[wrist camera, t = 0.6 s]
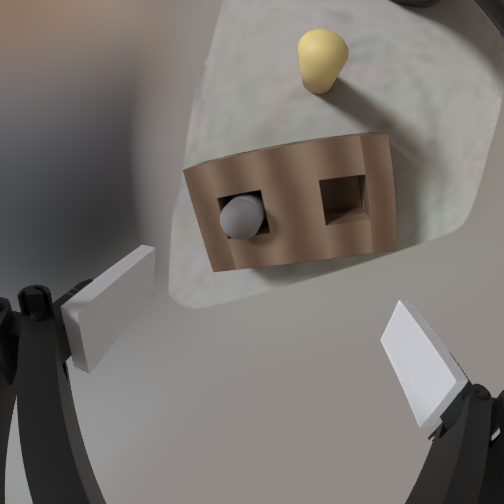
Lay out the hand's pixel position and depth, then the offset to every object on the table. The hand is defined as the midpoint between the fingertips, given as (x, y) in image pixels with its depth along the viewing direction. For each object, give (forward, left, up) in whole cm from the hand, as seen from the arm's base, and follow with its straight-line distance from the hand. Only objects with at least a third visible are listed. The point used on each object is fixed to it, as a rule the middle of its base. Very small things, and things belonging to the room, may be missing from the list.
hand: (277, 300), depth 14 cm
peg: (-6, -14, -26) cm, 30 cm away
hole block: (0, +1, -26) cm, 26 cm away
